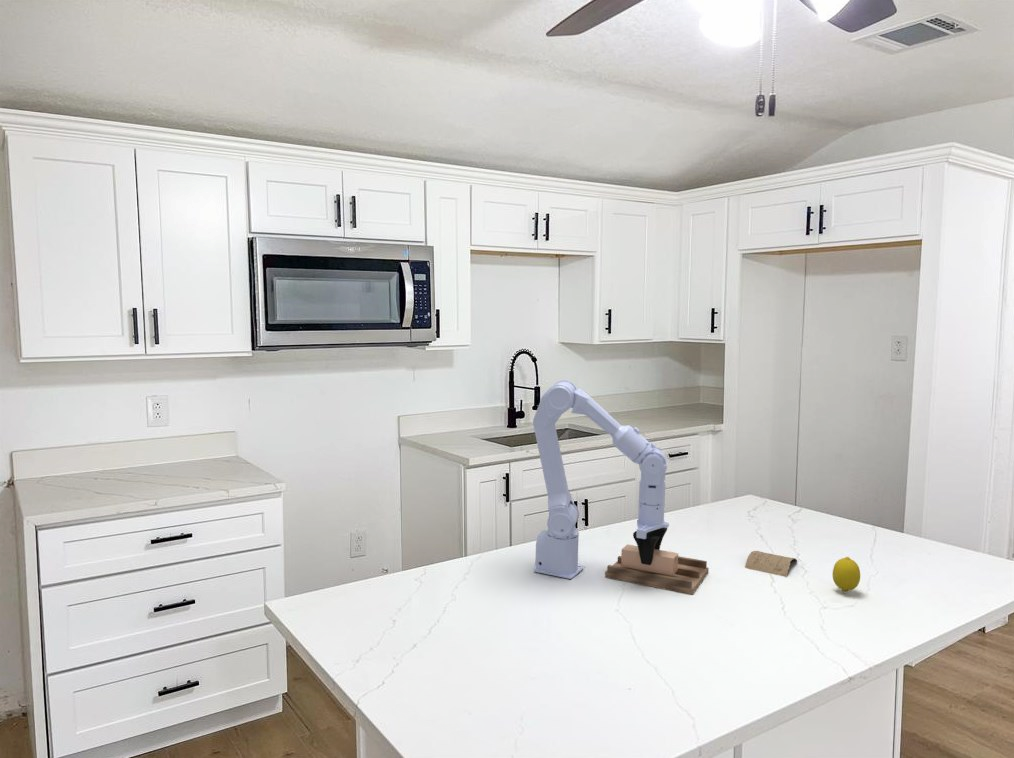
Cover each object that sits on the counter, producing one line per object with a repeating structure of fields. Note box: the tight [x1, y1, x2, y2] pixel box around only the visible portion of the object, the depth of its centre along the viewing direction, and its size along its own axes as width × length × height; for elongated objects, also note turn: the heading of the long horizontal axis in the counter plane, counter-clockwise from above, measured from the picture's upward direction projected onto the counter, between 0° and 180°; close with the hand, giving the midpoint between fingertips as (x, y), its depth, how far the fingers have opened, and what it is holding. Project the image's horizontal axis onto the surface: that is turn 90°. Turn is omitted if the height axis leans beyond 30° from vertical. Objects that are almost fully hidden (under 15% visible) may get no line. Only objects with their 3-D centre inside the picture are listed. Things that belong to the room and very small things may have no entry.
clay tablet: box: [744, 550, 798, 578], centre depth 181 cm, size 14×10×3 cm
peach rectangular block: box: [620, 543, 679, 576], centre depth 170 cm, size 12×4×4 cm, turn 62°
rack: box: [604, 555, 710, 595], centre depth 173 cm, size 20×15×3 cm
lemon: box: [832, 556, 861, 593], centre depth 164 cm, size 6×6×8 cm
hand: (649, 560), depth 170 cm, fingers closed on peach rectangular block, 4 cm apart
